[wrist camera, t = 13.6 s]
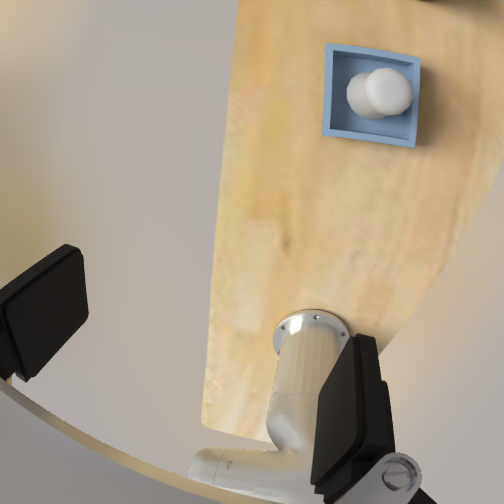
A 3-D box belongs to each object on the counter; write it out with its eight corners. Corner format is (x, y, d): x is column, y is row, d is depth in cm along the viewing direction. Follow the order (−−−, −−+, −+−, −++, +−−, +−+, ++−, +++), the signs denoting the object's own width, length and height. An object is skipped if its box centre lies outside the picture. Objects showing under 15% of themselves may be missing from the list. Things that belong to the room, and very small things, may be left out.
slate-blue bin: (405, 144, 35) (414, 148, 32) (321, 133, 37) (322, 135, 33) (410, 62, 30) (420, 58, 27) (325, 49, 32) (325, 43, 29)
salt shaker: (356, 65, 32) (375, 44, 20) (398, 89, 32) (434, 80, 20) (336, 105, 34) (346, 102, 23) (378, 128, 34) (406, 136, 23)
